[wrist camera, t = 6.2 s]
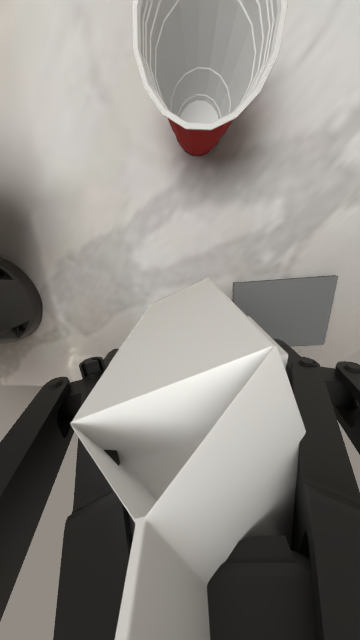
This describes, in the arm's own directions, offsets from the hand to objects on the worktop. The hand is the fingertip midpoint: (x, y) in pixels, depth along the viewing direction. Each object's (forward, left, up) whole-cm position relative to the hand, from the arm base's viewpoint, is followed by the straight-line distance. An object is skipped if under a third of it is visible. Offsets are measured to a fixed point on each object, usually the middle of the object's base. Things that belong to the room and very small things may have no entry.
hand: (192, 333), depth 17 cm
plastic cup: (+2, +22, -16) cm, 27 cm away
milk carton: (0, 0, -4) cm, 4 cm away
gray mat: (+15, -4, -15) cm, 22 cm away
